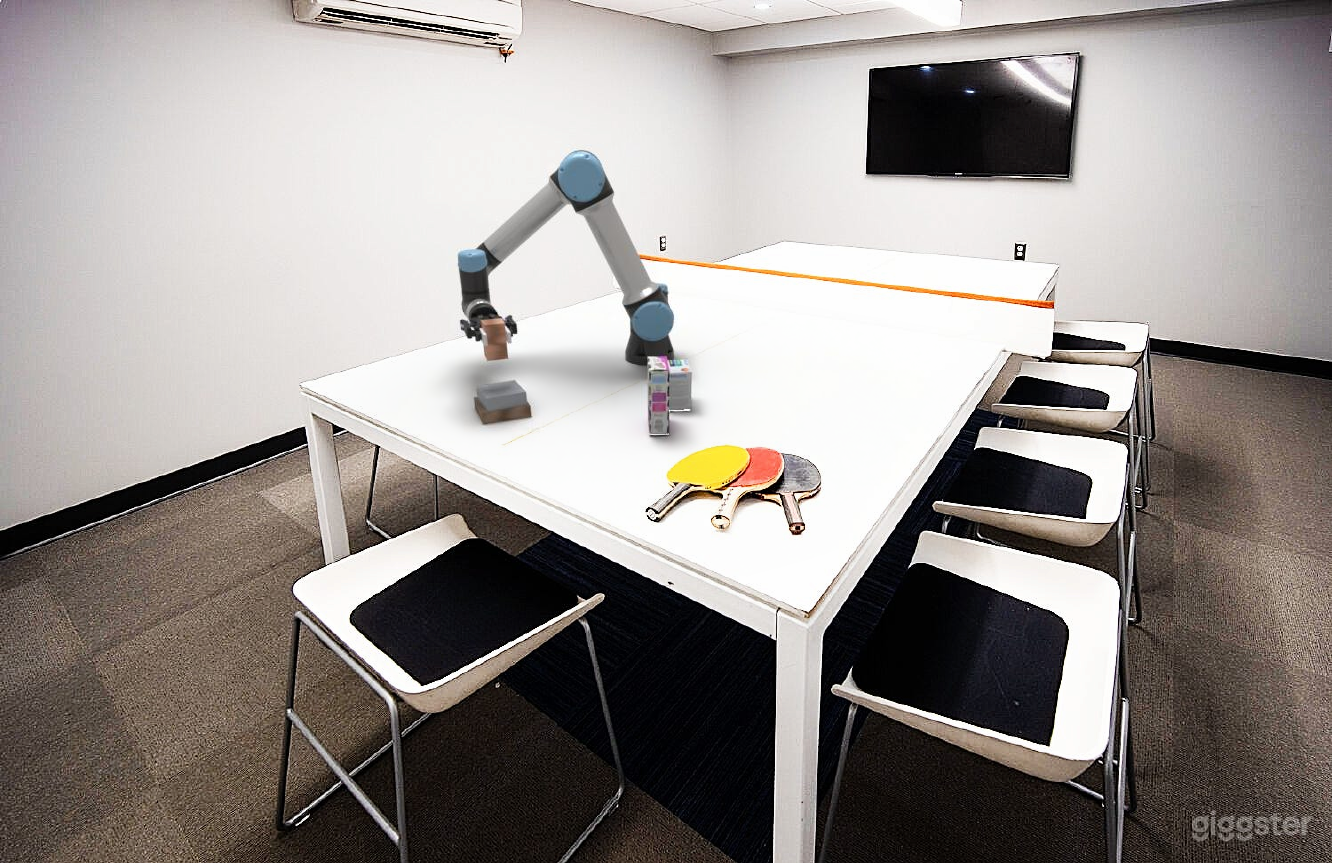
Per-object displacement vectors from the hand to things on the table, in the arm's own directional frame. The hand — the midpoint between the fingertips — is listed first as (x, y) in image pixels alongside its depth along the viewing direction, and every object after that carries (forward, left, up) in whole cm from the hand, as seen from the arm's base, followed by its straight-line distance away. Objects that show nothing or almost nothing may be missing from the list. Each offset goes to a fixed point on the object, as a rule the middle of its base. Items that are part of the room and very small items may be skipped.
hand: (497, 339), depth 175 cm
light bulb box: (-43, +9, -21) cm, 48 cm away
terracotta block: (0, -5, -6) cm, 8 cm away
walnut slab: (0, -4, -21) cm, 21 cm away
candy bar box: (-33, +21, -21) cm, 44 cm away
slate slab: (0, -4, -17) cm, 18 cm away
